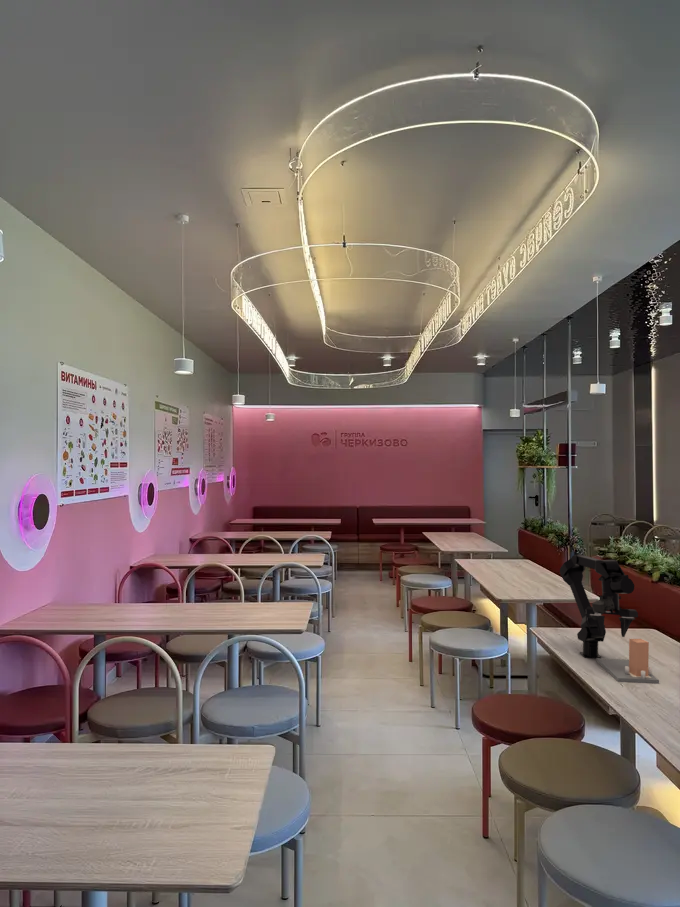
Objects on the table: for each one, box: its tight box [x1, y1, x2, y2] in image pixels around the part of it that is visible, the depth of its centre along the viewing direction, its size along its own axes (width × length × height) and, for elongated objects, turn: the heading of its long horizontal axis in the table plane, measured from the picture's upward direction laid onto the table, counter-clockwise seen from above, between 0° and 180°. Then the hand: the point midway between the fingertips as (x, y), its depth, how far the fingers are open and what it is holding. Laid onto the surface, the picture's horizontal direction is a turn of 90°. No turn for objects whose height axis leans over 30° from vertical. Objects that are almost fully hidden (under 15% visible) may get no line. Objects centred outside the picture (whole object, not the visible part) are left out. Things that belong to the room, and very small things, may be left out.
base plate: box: [595, 657, 660, 684], centre depth 224 cm, size 22×14×4 cm, turn 176°
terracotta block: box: [628, 638, 650, 676], centre depth 218 cm, size 4×4×12 cm
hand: (612, 635), depth 227 cm, fingers open, 9 cm apart
